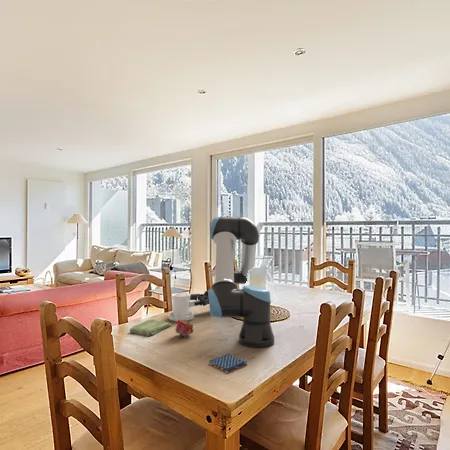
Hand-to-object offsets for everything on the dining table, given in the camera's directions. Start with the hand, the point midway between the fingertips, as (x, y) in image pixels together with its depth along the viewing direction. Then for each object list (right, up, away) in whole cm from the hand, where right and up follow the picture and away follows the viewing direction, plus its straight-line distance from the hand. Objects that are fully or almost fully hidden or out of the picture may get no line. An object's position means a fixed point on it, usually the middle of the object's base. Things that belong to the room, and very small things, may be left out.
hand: (181, 302), depth 176 cm
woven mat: (+24, -10, -57) cm, 63 cm away
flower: (+5, -9, -28) cm, 30 cm away
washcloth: (-12, -9, -18) cm, 24 cm away
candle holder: (0, -8, 0) cm, 8 cm away
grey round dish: (0, -9, 0) cm, 9 cm away
